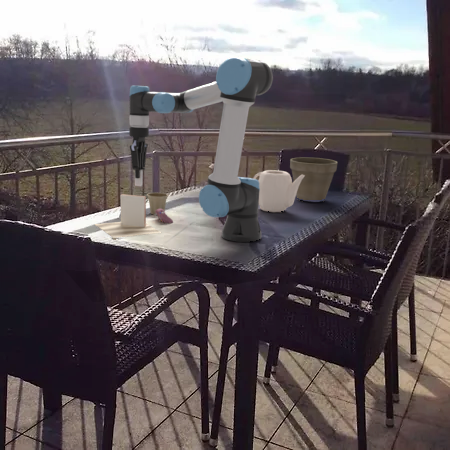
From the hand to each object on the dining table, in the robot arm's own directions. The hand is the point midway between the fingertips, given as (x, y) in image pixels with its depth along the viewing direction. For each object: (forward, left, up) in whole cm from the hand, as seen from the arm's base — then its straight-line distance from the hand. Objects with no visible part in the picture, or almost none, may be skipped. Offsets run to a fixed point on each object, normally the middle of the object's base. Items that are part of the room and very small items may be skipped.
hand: (138, 185), depth 206 cm
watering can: (0, -70, -16) cm, 72 cm away
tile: (-4, +4, -15) cm, 16 cm away
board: (-8, +8, -16) cm, 20 cm away
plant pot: (+15, -105, -16) cm, 107 cm away
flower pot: (+14, -15, -16) cm, 26 cm away
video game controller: (-2, -11, -16) cm, 19 cm away
